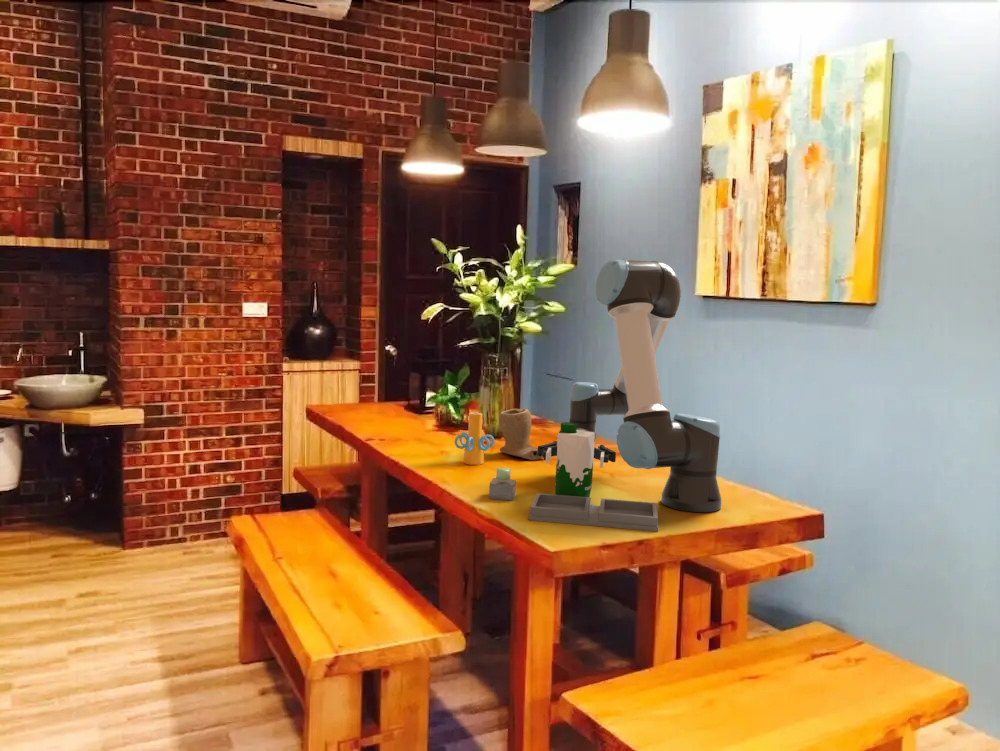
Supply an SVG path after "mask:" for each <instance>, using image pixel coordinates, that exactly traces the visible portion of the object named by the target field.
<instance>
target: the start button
mask: <svg viewBox="0 0 1000 751" xmlns="http://www.w3.org/2000/svg"><path fill="white" fill-rule="evenodd" d="M511 470H512V469H511V468H508V467H498V468H496V472H495V474H496V475H495V478H496V479H498V480H510V479H511V472H512V471H511Z"/></svg>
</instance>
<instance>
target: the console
mask: <svg viewBox="0 0 1000 751" xmlns="http://www.w3.org/2000/svg"><path fill="white" fill-rule="evenodd" d="M516 488H517V479H511V478H510V480H498V479H496V477H492V479H491V481H490V482H489V490H488V499H489V500H496V501H497V500H498V501H499V500H500V501H510V502H511V501H512V502H513V500H514V499H515V497H516Z"/></svg>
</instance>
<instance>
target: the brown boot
mask: <svg viewBox="0 0 1000 751" xmlns="http://www.w3.org/2000/svg"><path fill="white" fill-rule="evenodd" d="M498 421H499V427H500V429H501V431H502V435H503V438H504V445H503V446H502V447H500V448H499V451H500V452H501V453H503V454H506V455H510V456H513V457H518V458H521V459H527V460H531V461H536V460H537V461H538V460H540V459H544V458H543V456H537V450H538V447H535V446H532V445H531V444H530V438H531V437H530V436H531V430H532V415H531V412H530V410H529V409H527V408H523V409H520V408H511V409H507V410H503V411H501V412H500V413H499V415H498Z"/></svg>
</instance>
